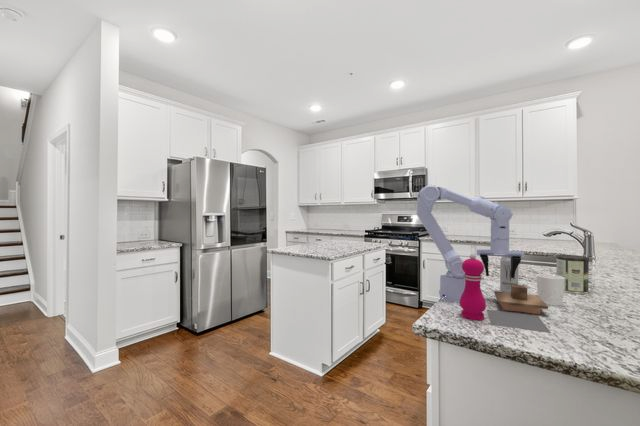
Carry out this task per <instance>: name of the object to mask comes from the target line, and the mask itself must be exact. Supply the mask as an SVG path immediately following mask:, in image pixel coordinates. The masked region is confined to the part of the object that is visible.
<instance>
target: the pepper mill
mask: <svg viewBox="0 0 640 426" xmlns="http://www.w3.org/2000/svg"><path fill="white" fill-rule="evenodd" d="M463 261H464V262H463V264H462V269H463V271H464V272H465V274H464V279H465V289H464V291H463V294H462V296H461V298H460V302H459V306H460V308H461V309H462V310H461V313H460V314H461V315H460V316H461V317H463V318H464V319H467V320H471V321H483V320H484V319H485V314H484V311H486V310H487V305H486V304H487V303H486V300H485V297H484V294H483V292H482V289H481V281H482V280H483V279H482V277H483V276H482V274H483V272H484V270H485V267H484V264H483V262H482V260H481V261H480V260H479V259H477V254H476V253H475V254H474V253H470V255H469V258H467V259H465V260H463Z"/></svg>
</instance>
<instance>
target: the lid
mask: <svg viewBox="0 0 640 426" xmlns="http://www.w3.org/2000/svg"><path fill="white" fill-rule="evenodd" d="M493 293H494V296H495V299H496V301H497V302H498V304H500V305H501V304H507V305H516V306H525V307H534V308H540V309H544V310H549V305H546V304H545V303H544V302H543V300H542V299H541V298H540V297H539V296H538V294H530V293H529V294H528V287H527V286H526V285H524V284H518V285H515V284H511V293H510V292H502V291H501V290H494V291H493Z"/></svg>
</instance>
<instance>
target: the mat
mask: <svg viewBox="0 0 640 426" xmlns="http://www.w3.org/2000/svg"><path fill="white" fill-rule="evenodd" d="M486 312H487V316H488V320H489V323H490V325H491V326H497V327H504V328H505V327H506V328H511V329H520V330H524V331H525V330H526V331H532V332H533V331H534V332H539V333H540V332H541V333H547V334H552V333H551V331H550V329H549V328H548V327H547V326H546V324H545V323H544V321H543V320H542V319H541V317H540V316H539V315H538V314H537V315H535V314H530V313H521V312H511V311H510V312H509V311H505V310H504V311H501V310H496V309H489V308H488V309H487V308H486Z"/></svg>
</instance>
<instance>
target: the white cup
mask: <svg viewBox="0 0 640 426" xmlns="http://www.w3.org/2000/svg"><path fill="white" fill-rule="evenodd" d="M564 285H565V277H562V276H558V275H557V274H551V273H538V274H536V289H537V295H538V296H539V297H540V298H541V299H542V300H543V302H544V303H545V304H546V305H547V306H551V307H552V306H553V307H560V306H561V307H563V304H564V296H565V295H564V294H565V292H564Z"/></svg>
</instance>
